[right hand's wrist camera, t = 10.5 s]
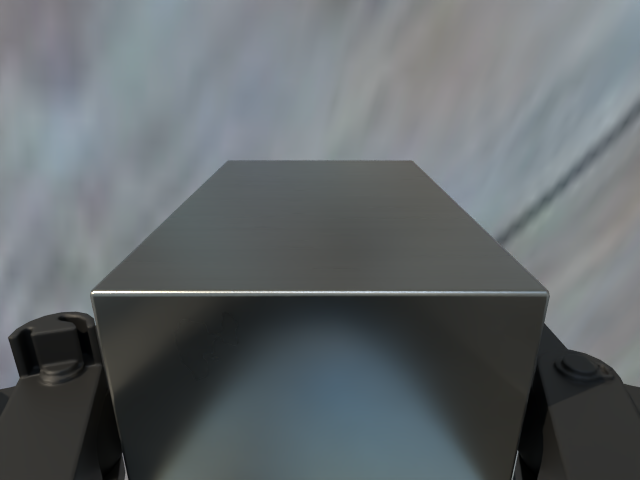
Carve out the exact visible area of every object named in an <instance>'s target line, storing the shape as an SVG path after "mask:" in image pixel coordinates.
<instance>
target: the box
mask: <svg viewBox="0 0 640 480" xmlns="http://www.w3.org/2000/svg"><path fill="white" fill-rule="evenodd" d="M90 297H91V302H92V307H93V312H94V316H95V321H96V326H97V331H98V336H99V340H100V345H101V350H102V355H103V360H104V364H105V369H106V374H107V379H108V384H109V389H110V393H111V398H112V403H113V408H114V413H115V417H116V422H117V427H118V432H119V437H120V441H121V446H122V451H123V456H124V461H125V466H126V470H127V475H128V480H511V479H512V474H513V469H514V464H515V460H516V455H517V450H518V445H519V440H520V436H521V431H522V426H523V421H524V417H525V412H526V407H527V402H528V397H529V393H530V388H531V383H532V378H533V373H534V369H535V364H536V359H537V354H538V349H539V345H540V340H541V335H542V330H543V325H544V321H545V316H546V311H547V306H548V301H549V297H550V296H549V291H548V290H547V289H546V288H545V287H544V286H543V285H542V284H541V283H540V282H539V281H538V280H537V279H536V278H534V277H533V276H532V275H531V274H530V273H529V272H528V271H527V270H526V269H525V268H524V267H523V266H522V265H521V264H520V263H519V262H518V261H517V260H516V259H515V258H514V257H513V256H511V255H510V254H509V253H508V252H507V251H506V250H505V249H504V248H503V247H502V246H501V245H500V244H499V243H498V242H497V241H496V240H495V239H494V238H493V237H492V236H491V235H490V234H488V233H487V232H486V231H485V230H484V229H483V228H482V227H481V226H480V225H479V224H478V223H477V222H476V221H475V220H474V219H473V218H472V217H471V216H470V215H469V214H468V213H467V212H465V211H464V210H463V209H462V208H461V207H460V206H459V205H458V204H457V203H456V202H455V201H454V200H453V199H452V198H451V197H450V196H449V195H448V194H447V193H446V192H445V191H444V190H442V189H441V188H440V187H439V186H438V185H437V184H436V183H435V182H434V181H433V180H432V179H431V178H430V177H429V176H428V175H427V174H426V173H425V172H424V171H423V170H422V169H421V168H419V167H418V166H417V165H416V164H415V163H414V162H413V161H227V162H226V163H225V164H224V165H223V166H222V167H221V168H220V169H218V170H217V171H216V172H215V173H214V174H213V175H212V176H211V177H210V178H209V179H208V180H207V181H206V182H205V183H204V184H203V185H202V186H201V187H200V188H199V189H198V190H196V191H195V192H194V193H193V194H192V195H191V196H190V197H189V198H188V199H187V200H186V201H185V202H184V203H183V204H182V205H181V206H180V207H179V208H178V209H177V210H175V211H174V212H173V213H172V214H171V215H170V216H169V217H168V218H167V219H166V220H165V221H164V222H163V223H162V224H161V225H160V226H159V227H158V228H157V229H156V230H154V231H153V232H152V233H151V234H150V235H149V236H148V237H147V238H146V239H145V240H144V241H143V242H142V243H141V244H140V245H139V246H138V247H137V248H136V249H135V250H134V251H132V252H131V253H130V254H129V255H128V256H127V257H126V258H125V259H124V260H123V261H122V262H121V263H120V264H119V265H118V266H117V267H116V268H115V269H114V270H113V271H111V272H110V273H109V274H108V275H107V276H106V277H105V278H104V279H103V280H102V281H101V282H100V283H99V284H98V285H97V286H96V287H95V288H94V289H93V290H92V291H91V295H90Z"/></svg>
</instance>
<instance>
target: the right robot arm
mask: <svg viewBox="0 0 640 480" xmlns="http://www.w3.org/2000/svg"><path fill="white" fill-rule="evenodd" d="M8 339H9V342H10V346H11V349H12V352H13V356H14V359H15V363H16V366H17V370H18V373H19V376H20V379H19V381H18V383H17V385H16V386H14V387H10V388H5V389H0V480H124V479H125V467H124V461H123V457H122V453H123V451H122V446H121V441H120V437H119V432H118V427H117V422H116V417H115V413H114V408H113V403H112V398H111V393H110V389H109V384H108V379H107V374H106V369H105V364H104V360H103V355H102V350H101V345H100V340H99V336H98V331H97V326H95V322H94V318H92V317H91V316H90V315H88V314H85V313H80V312H61V313H56V314H52V315H47V316H43V317H41V318H38V319H35V320H33V321H30V322H28V323H26V324H24V325H23V326H21V327H19V328H18V329H16V330H15V331H14V332H13V333H12V334H11V335H10V336H9V337H8ZM513 480H640V387H635V386H630V385H626V384H623V382H622V380H621V378H620V377H619V375H618V374H617V373H616V372H615V371H614V369H613V368H611V367H610V366H608V365H607V364H605V363H604V362H603V361H601V360H599V359H597V358H595V357H592V356H590V355H588V354H585V353H581V352H577V351H573V350H568V349H567V348H566V347H565V346H564V345H563V344H562V342H561V341H560V340H559V339H558V338H557V337H556V336H555V335H554V334H553V332H552V331H551V330H550V329H549V328H548V327H547V326H546V325H545V324H544V325H543V330H542V335H541V340H540V345H539V349H538V354H537V359H536V364H535V369H534V373H533V378H532V383H531V388H530V393H529V397H528V402H527V407H526V412H525V417H524V421H523V426H522V431H521V436H520V440H519V445H518V457H517V461H516V466H515V471H514V476H513Z"/></svg>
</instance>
